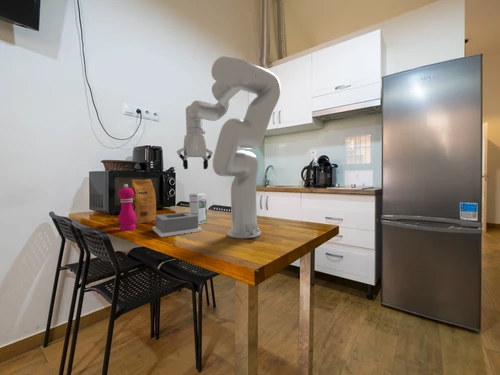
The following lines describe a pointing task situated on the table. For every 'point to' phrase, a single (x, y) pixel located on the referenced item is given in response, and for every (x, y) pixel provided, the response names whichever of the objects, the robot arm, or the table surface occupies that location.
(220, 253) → the table surface
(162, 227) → the socket
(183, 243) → the table surface
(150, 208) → the coffee package
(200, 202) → the syrup box
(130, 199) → the pepper mill
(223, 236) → the table surface
